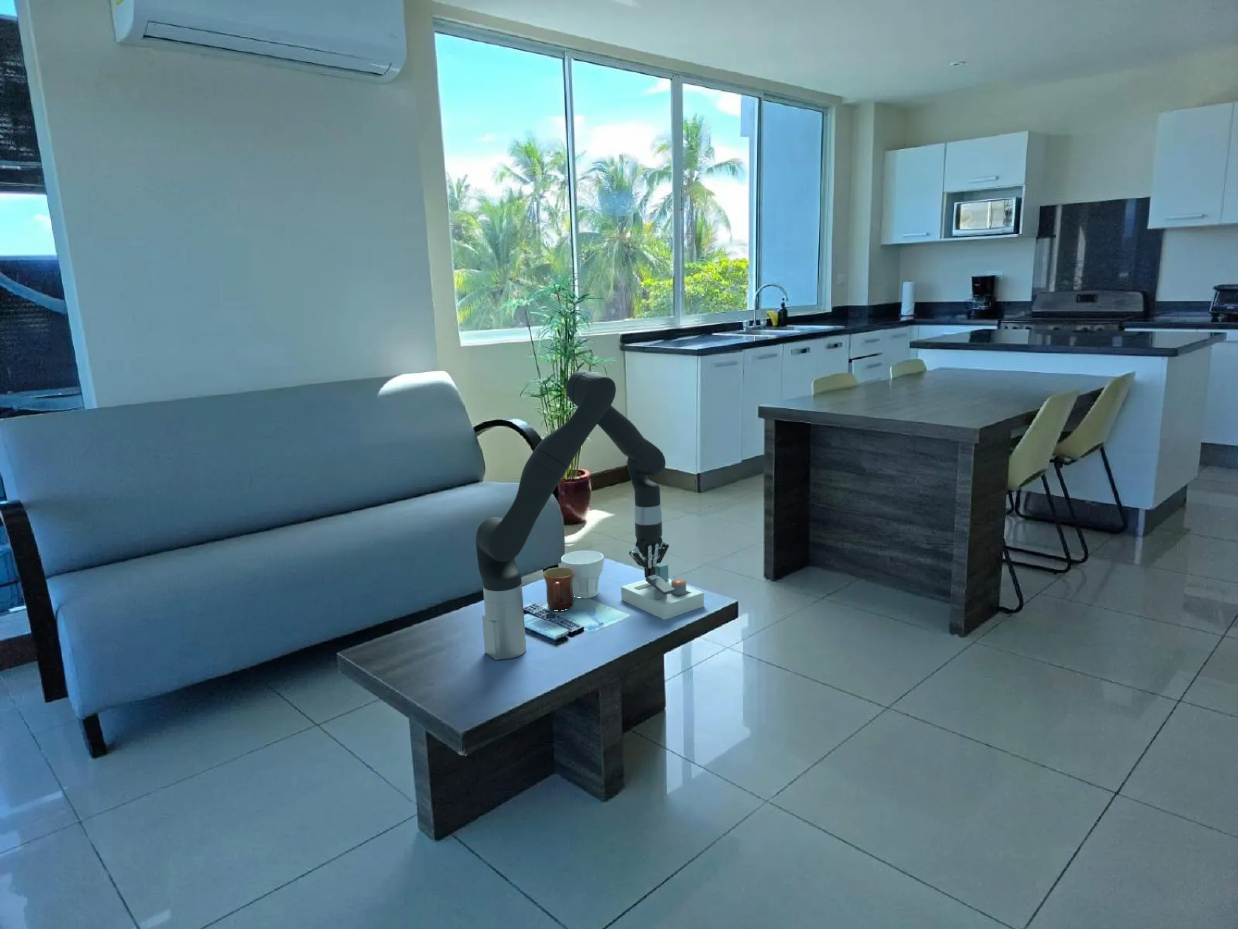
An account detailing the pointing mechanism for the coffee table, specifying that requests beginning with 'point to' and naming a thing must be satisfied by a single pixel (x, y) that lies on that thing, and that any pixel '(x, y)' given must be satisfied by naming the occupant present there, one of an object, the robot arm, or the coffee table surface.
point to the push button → (679, 587)
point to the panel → (661, 599)
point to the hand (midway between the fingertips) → (650, 579)
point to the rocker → (660, 584)
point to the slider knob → (662, 571)
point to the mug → (559, 588)
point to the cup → (584, 571)
